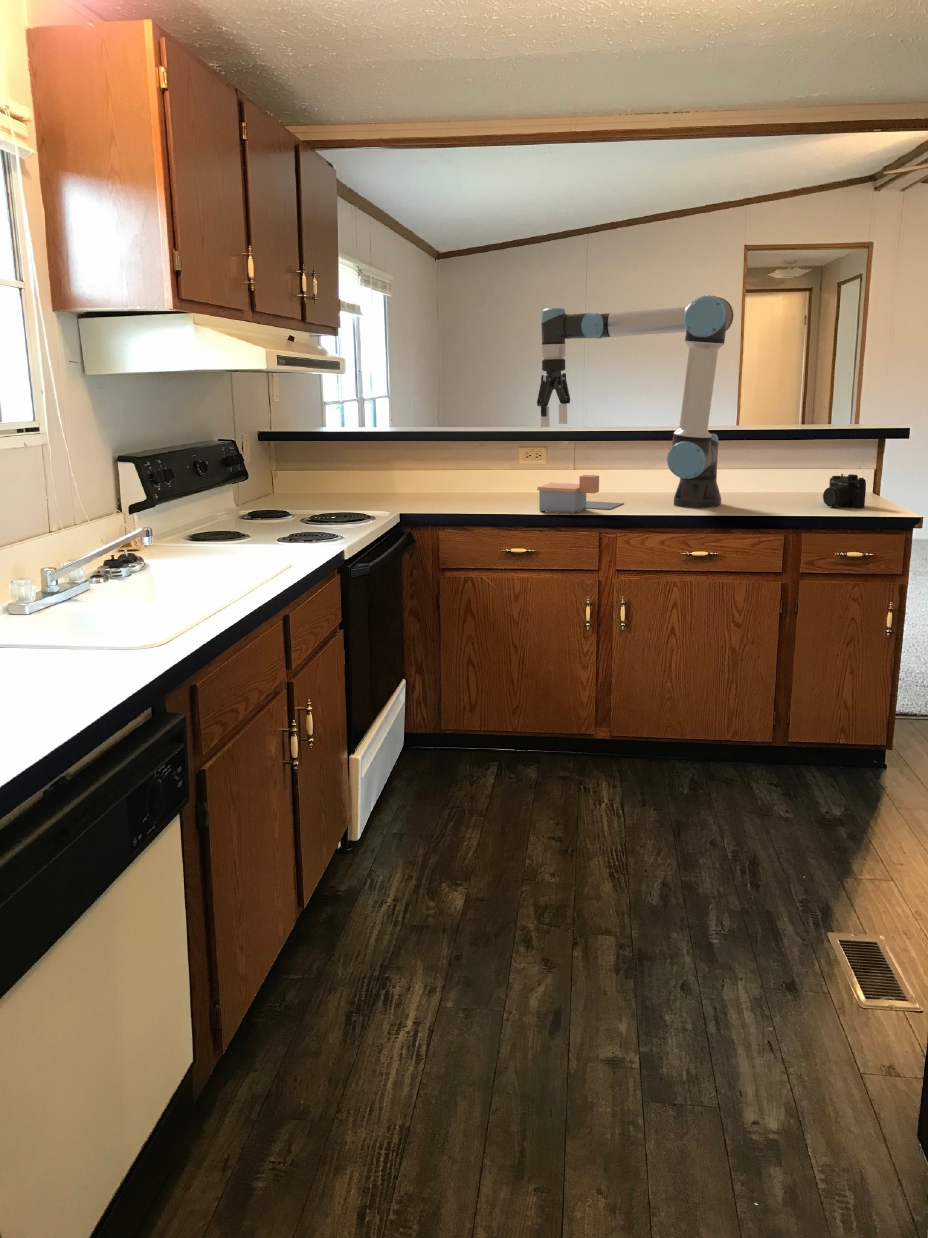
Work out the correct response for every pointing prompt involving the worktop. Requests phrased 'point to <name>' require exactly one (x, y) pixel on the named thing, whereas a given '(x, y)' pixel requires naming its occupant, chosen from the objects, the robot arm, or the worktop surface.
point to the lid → (575, 485)
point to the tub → (562, 501)
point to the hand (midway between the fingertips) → (554, 425)
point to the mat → (602, 505)
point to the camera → (845, 491)
